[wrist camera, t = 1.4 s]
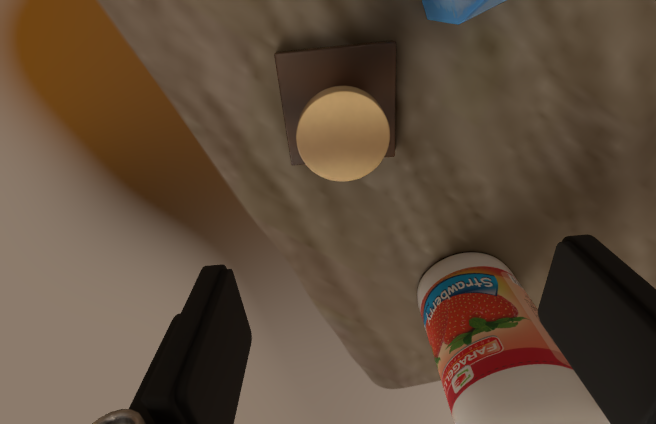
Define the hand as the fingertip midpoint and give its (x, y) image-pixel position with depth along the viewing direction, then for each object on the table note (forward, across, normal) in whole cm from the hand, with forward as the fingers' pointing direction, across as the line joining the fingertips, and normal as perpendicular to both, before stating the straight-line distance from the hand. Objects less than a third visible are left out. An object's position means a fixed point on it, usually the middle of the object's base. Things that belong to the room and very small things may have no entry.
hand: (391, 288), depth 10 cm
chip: (+12, +1, -1) cm, 12 cm away
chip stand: (+18, +1, -1) cm, 18 cm away
